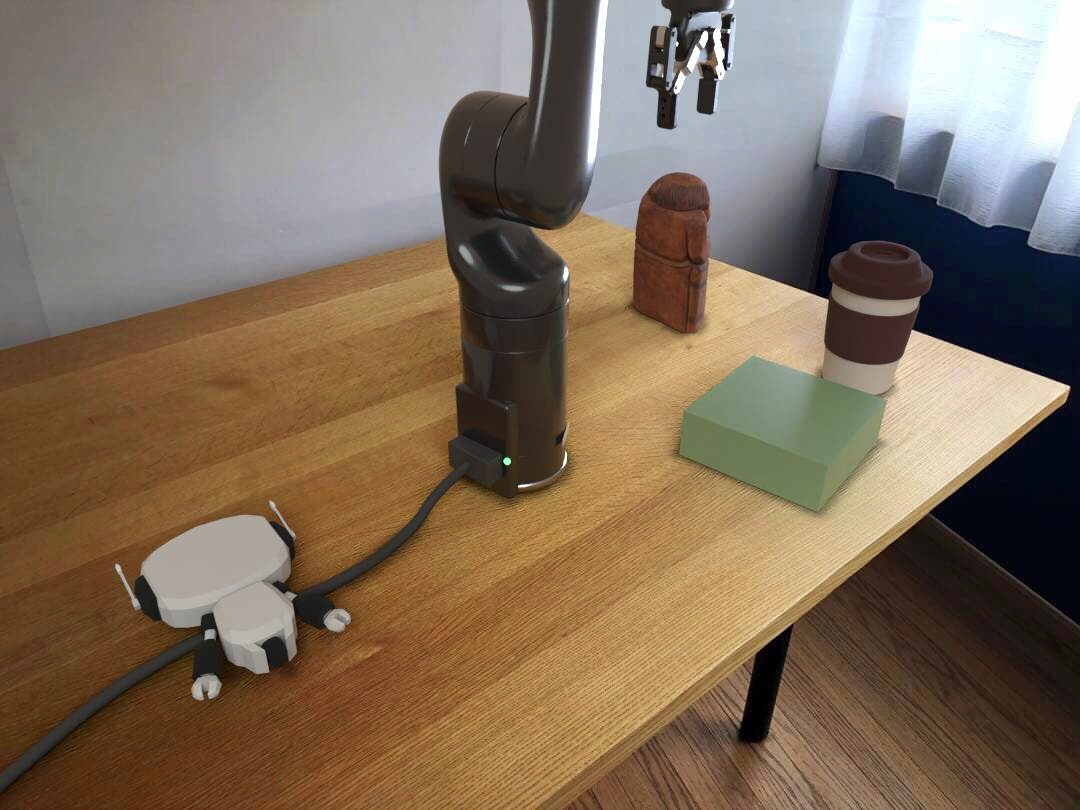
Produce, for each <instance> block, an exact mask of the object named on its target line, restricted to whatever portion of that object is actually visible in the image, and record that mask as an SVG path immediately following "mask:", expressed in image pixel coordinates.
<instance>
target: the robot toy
mask: <svg viewBox="0 0 1080 810" xmlns="http://www.w3.org/2000/svg"><path fill="white" fill-rule="evenodd" d="M268 502H269V507H270V508H271V510H272V511H273V513H275V515H276V517H277V518H278V520H279V521H280V523H281V524H282V525H281V524H279V523H278V522H276V521H275V520H270V521H268V520H267V519H266V518H265V516H262V515H252V514H238V515H234V516H228V517H223V518H221V519H217V520H214V521H210V522H207V523H204V524H200V525H198V526H194V527H192V528H191V529H189V530H187V531H185V532H183V533H182V534H179V535H177V536H176V537H174V538H172V539H170V540H168V541H167V542H166V543H164V544H163V545H161V546H159V547H158V548H156V549H155V550H154V551H153V552H151V553H150V554H149V555H148V556H147V557H146V558H145V560H144V561H142V563H141V566H140V567H141V568H140V574H139V576H138V577H137V578H136V579H135V580H134V590H133V591H132V589H131V588H130V585H129V583H128V581H127V580H126V577H125V575H124V573H123V570H122V567H121V565H120V564H119V563H115V565H114V566H115V570H116V573H117V574H118V575H119V577H120V579H121V581H122V583H123V585H124V587H125V589H126V591H127V593H128V595H129V597H130V599H131V604H132V607H133V608H134V610H135V612H136V611H138V610H141V612H142V614H143V615H145V616H147V617H148V618H149V619H151V620H153V622H160V621H162V622H164V623H165V624H167V625H168V626H169V627H172V628H179V629H180V628H182V629H183V628H195V627H199V633H200V634H201V635H202V637H203V638H205V640H204V641H203V642H202V643H201V644H200V645H199V646H198V647H197V648H196V649H194V655H193V663H192V664H193V666H192V676H191V679H192V681H193V682H194V683H193V685H192V686H191V688H190V690H191V694H192V697H193V698H194V699H195V700H197V701H204V700H205V698H204V695H205V693H206V692H207V697H208V700H211V699H214V698H217V697H218V695H219V694H220V691H221V688H222V685H223V683H222V682H223V674H224V658H225V657H226V659H227V661H229V663H232V664H233V665H235V666H237V667H243V668H245V669H248V670H249V671H251V672H252V673H254V674H255V675H260V674H268V673H270V669H269V668H271V669H273V670H277V669H280V668H282V667H284V666H285V665H286V664H287V663H288V662H289V663H290V662H291V661H292V659H293V658H294V657H295V656H296V655H297V654H298V650H297V644H296V641H297V638H298V636H299V634H298V632H299V631H298V627H297V626H298V625H297V620H296V615H297V616H298V617H299V619H300V620H301V622H303V623H305V624H307V625H309V626H311V627H313V628H316V629H318V630H320V631H323V630H324V629H325V628H327V630H329V631H330V632H335V633H341V632H343V631H344V630H345V629H346V626H348V625H349V624H350V623H351V620H352V616H351V614H350V613H349V612H347V611H346V610H345V609H344V608H336V605H335V603H334V600H332V599H329V598H327V597H325V596H324V595H321V596H320V595H318V594H316V593H307V594H301V595H295V594H293V592H291V587H290V585H288V584H286V583H285V582H286V581H287V580H288V578H289V577H290V575H291V574H292V561H293V560H294V559H295V558H296V549H295V542H294V541H296V539H297V536H296V534H295V532H294V531H293V530H292V529H290V527H289V526H288V524H287V522H286V521H285V519H284V518H283V516H282V515H281V513H280V512H279V509H277V506H276V504H275V503H274V501H272V500H270V499H269V500H268ZM295 613H296V615H295ZM218 636H219V637H218ZM216 637H218V639H219V641H220V644H221V647H220V645H219V643H218V642H217V638H216ZM224 655H225V656H224Z"/></svg>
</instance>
